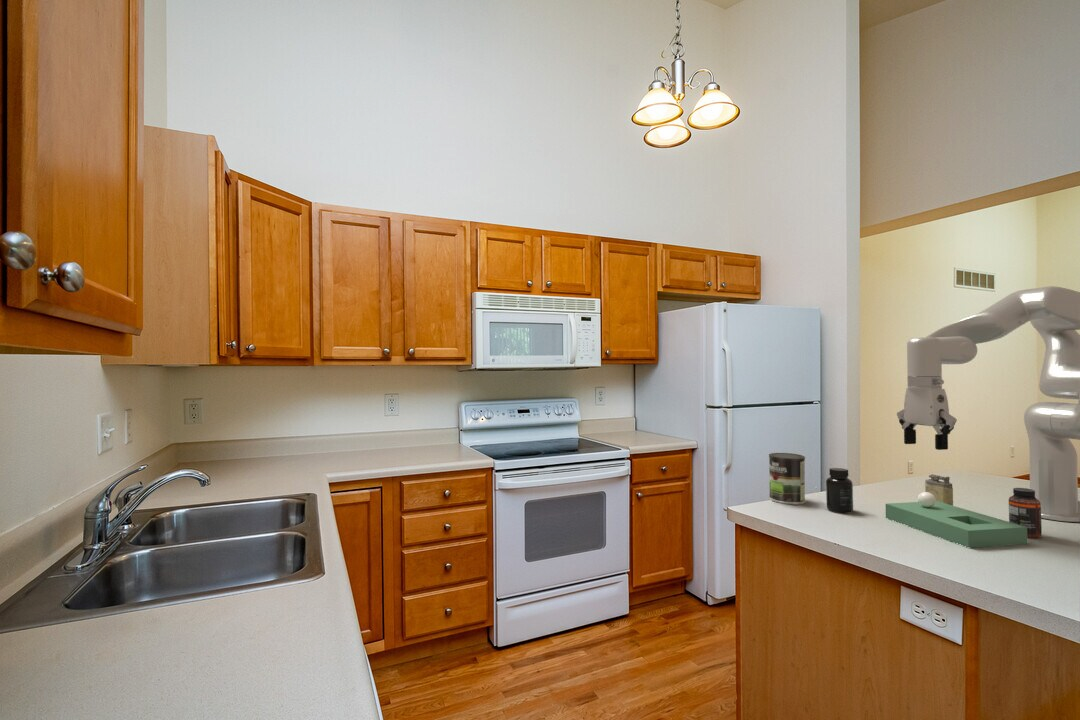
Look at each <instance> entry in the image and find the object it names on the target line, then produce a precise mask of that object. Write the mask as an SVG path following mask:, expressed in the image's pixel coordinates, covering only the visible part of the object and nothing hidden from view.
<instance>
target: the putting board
mask: <svg viewBox="0 0 1080 720" xmlns="http://www.w3.org/2000/svg"><path fill="white" fill-rule="evenodd" d="M887 518H888V519H887ZM885 519H887V520H890V519H891V520H890V521H892V520H894V521H893V522H895V521H896V523H898V522H899V523H898V524H901V523H902V524H901V525H903V524H905V526H906V525H908V526H907V527H909V526H911V527H910V528H912V527H914V528H913V529H915V528H916V529H915V530H917V529H919V530H918V531H920V530H922V531H921V532H923V531H924V532H923V533H926V532H927V533H926V534H928V533H930V534H929V535H931V534H932V536H934V535H935V536H934V537H937V536H938V537H937V538H939V537H941V538H940V539H942V538H943V540H945V539H946V540H945V541H948V540H949V541H948V542H950V541H952V542H951V543H953V542H955V543H954V544H956V543H958V544H957V545H959V544H961V545H963V546H962V547H964V546H966V547H965V548H967V547H976V548H987V546H988V547H990V546H991V547H1002V546H1004V547H1005V546H1019V545H1028V537H1027V527H1025V526H1022V525H1018V524H1015V523H1011V522H1009V520H1004V519H1000V518H996V517H994V516H989V515H986V514H983V513H980V512H975V511H973V510H969V509H966V508H962V507H959V506H955V505H953V506H952V505H949V504H945V503H942V502H938V501H936V503H935V505H934V506H932V507H924V506H922V505H921V504H920V503H919V502H918V501H910V502H889V503H887V502H886V503H885ZM961 545H960V546H961Z"/></svg>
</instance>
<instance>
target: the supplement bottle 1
mask: <svg viewBox="0 0 1080 720" xmlns="http://www.w3.org/2000/svg"><path fill="white" fill-rule="evenodd" d="M828 469H829V476H830V477H828V478H826V479H825V490H826V491H825V498H826V499H825V501H826V508H827V510H828V511H830V512H833V513H838V514H839V513H840V514H850V513H853V511H854V485H853V481H852V479H850V478H849V477H850V476H849V475H850V474H849V469H848V468H842V467H830V468H828Z"/></svg>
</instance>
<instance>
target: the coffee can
mask: <svg viewBox="0 0 1080 720" xmlns="http://www.w3.org/2000/svg"><path fill="white" fill-rule="evenodd" d="M768 458H769V459H768V460H769V465H768V466H769V467H768V469H769V498H768V499H769V500H770V501H772V502H775V503H778V504H783V505H784V504H785V505H802V504H805V502H806V497H805V496H806V495H805V493H806V492H805V491H806V490H805V483H806V481H805V477H806V476H805V473H806V472H805V468H806V466H805V463H806V462H805V461H806V460H805V459H806V456H804V455H802V454H798V453H790V452H774V453H773V452H771V453H769V454H768Z"/></svg>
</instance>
